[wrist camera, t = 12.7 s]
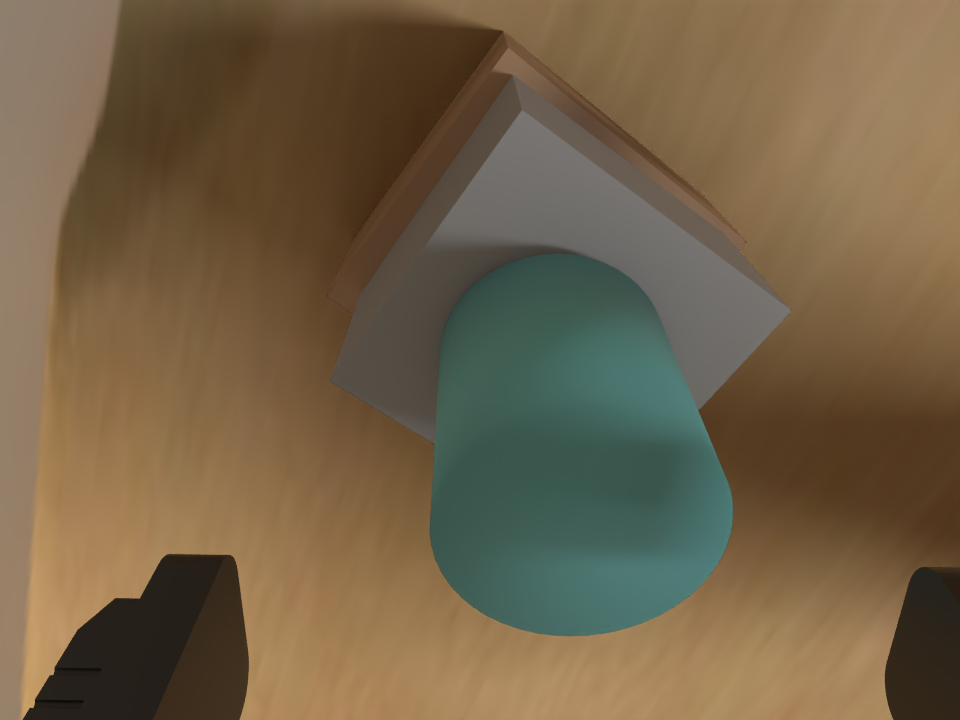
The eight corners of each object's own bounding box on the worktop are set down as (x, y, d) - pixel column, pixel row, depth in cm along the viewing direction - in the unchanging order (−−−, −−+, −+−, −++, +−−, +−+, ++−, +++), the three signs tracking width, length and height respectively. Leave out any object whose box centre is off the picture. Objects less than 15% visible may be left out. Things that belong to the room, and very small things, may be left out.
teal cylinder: (651, 448, 18) (709, 635, 14) (441, 448, 18) (432, 637, 14) (677, 253, 16) (757, 403, 11) (437, 253, 16) (426, 403, 11)
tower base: (700, 192, 26) (746, 242, 21) (542, 371, 28) (554, 449, 24) (503, 30, 24) (508, 47, 19) (353, 238, 26) (326, 295, 22)
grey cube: (725, 234, 21) (791, 310, 17) (563, 422, 23) (582, 534, 19) (512, 74, 19) (522, 109, 15) (360, 292, 22) (328, 380, 17)
